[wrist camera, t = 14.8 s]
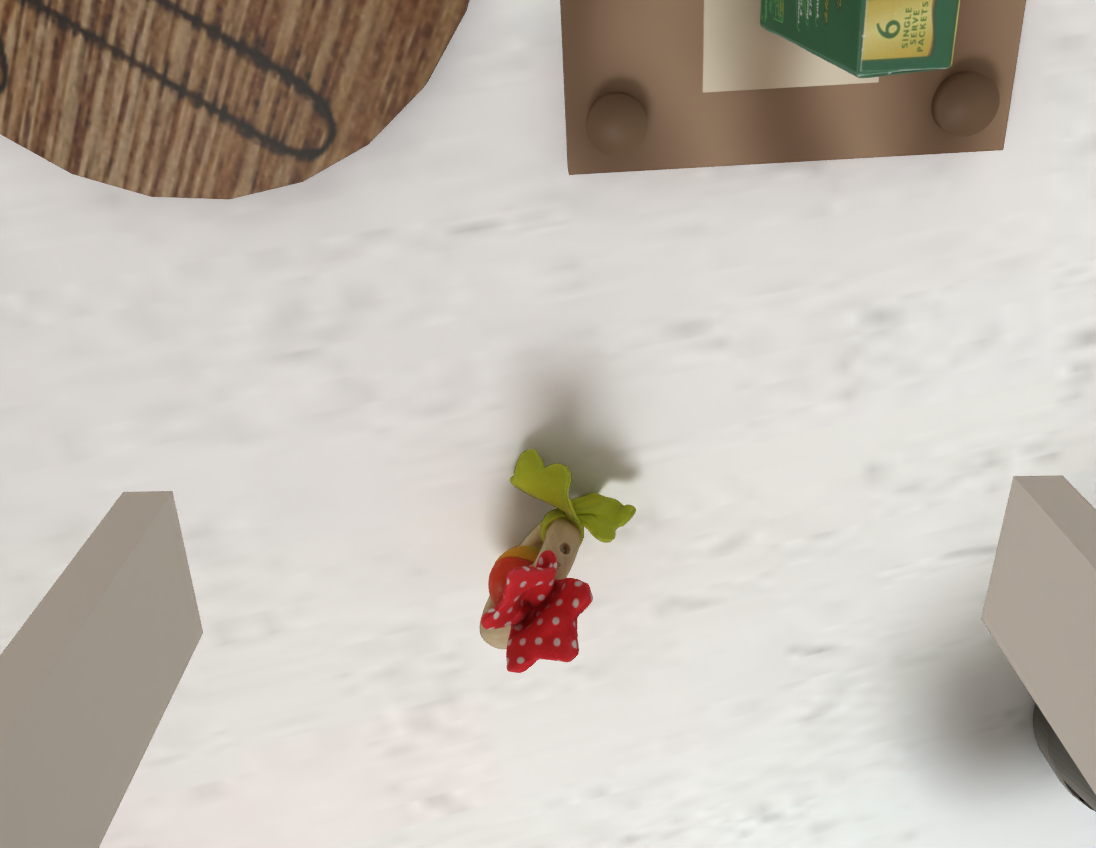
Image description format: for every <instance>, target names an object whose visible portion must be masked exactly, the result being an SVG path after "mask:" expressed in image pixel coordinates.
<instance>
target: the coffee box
mask: <svg viewBox="0 0 1096 848" xmlns="http://www.w3.org/2000/svg"><path fill="white" fill-rule="evenodd" d="M959 7H960V0H761V13H760V25H761V27H762V28H764V29H766V30H767V31H768V32H771V33H773V34H776V35H779V36H781V37H782V38H784V39H786V40H788V41H790V42H792V43H794V44H796V45H798V46H800V47H801V48H803V49H805V50H806V51H808V52H810V53H812V54H814V55H816V56H818V57H820V58H822V59H823V60H825V61H827V62H829V63H831V64H833V65H835V66H837V67H838V68H840V69H842V70H845V71H846V72H848V73H850V74H852V75H854V76H856V77H858V78H872V77H880V76H888V75H896V74H905V73H914V72H923V71H932V70H941V69H947V68H949V67H951V65H952V60H953V53H954V45H955V37H956V31H957V23H958V15H959Z"/></svg>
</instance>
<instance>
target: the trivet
mask: <svg viewBox="0 0 1096 848" xmlns="http://www.w3.org/2000/svg"><path fill="white" fill-rule="evenodd" d="M468 2H469V0H0V134H1V135H3V136H5V137H7V138H8V139H10V140H12V141H14V142H16V143H17V144H19V145H21V146H23V147H25V148H26V149H28V150H30V151H32V152H34V153H35V154H37V155H39V156H41V157H43V158H45V159H46V160H48V161H50V162H52V163H54V164H55V165H57V166H59V167H61V168H63V169H64V170H66V171H68V172H70V173H72V174H75V175H78V176H82V177H85V178H89V179H92V180H96V181H99V182H102V183H106V184H109V185H113V186H116V187H120V188H123V189H127V190H130V191H134V192H137V193H141V194H144V195H148V196H151V197H179V198H209V199H232V198H236V197H241V196H245V195H249V194H253V193H257V192H262V191H266V190H270V189H274V188H278V187H283V186H287V185H291V184H295V183H299V182H303V181H305V180H307V179H308V178H310V177H312V176H314V175H315V174H317V173H319V172H321V171H322V170H324V169H326V168H328V167H329V166H331V165H333V164H335V163H336V162H338V161H340V160H342V159H344V158H345V157H347V156H349V155H351V154H352V153H354V152H356V151H358V150H359V149H361V148H363V147H365V146H366V145H368V144H369V143H370V142H371V141H372V140H373V139H374V138H375V137H376V136H377V135H378V134H379V133H380V132H381V131H382V130H383V129H384V128H385V127H386V126H387V125H388V124H389V123H390V122H391V121H392V120H393V119H394V118H395V116H396V115H397V114H398V113H399V112H400V111H401V110H402V109H403V108H404V107H405V106H406V105H407V104H408V103H409V102H410V101H411V100H412V99H413V98H414V97H415V96H416V95H417V94H418V93H419V92H420V91H421V90H422V89H423V88H424V86H425V85H426V84H427V82H428V80H429V78H430V77H431V75H432V73H433V71H434V69H435V67H436V66H437V64H438V62H439V60H440V58H441V56H442V55H443V53H444V51H445V49H446V47H447V45H448V44H449V42H450V40H451V38H452V36H453V34H454V32H455V31H456V29H457V27H458V25H459V23H460V21H461V20H462V18H463V16H464V14H465V12H466V10H467V6H468Z"/></svg>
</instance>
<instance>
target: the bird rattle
mask: <svg viewBox="0 0 1096 848" xmlns="http://www.w3.org/2000/svg"><path fill="white" fill-rule="evenodd" d="M571 479H572V476H571V473H570V470H569V468H568V467H567V466H565V465H562V464H558V463H556V464H552V465H550V466H548V467H544V463H543V460H542V459H541V457H540V456H539V455H538V453H537V452H536V450H534V449H529V450H527V451H524V452H523V453H522V454H521V455H520V457H519V459H518V461H517V465H516V468H515V473H514V476H512V477H511V478H510V482H511V483H512V484H513V485H514V486H515V487H517V488H518V489H520V490H522V491H524V492H525V493H527V494H529V495H530V496H532V497H535V498H538V499H540V500H542V501H544V502H546V503H548V504H550V505H552V506H554V507H556V508H558V509H555V510H552V511H550V512H548V513H547V514H546V516H545V517H544V519H543V520H542V522H540V523H539V524H538V525H537V526H536V527H535V528H534V529H533V530H532V531H531V532H530V534H529V535H528V536H527V537H526V538H525V539H524V541H523V542H522V543H521V544H520V545H519V546H518V547H515V548H512V549H509V550H508V551H506V552H505V553H503V554H502V555H501V556H500V557H499V558H498V559H497V561H496V562H495V565H494V566H493V568H492V570H491V572H490V576H489V593H490V596H489V598H488V601H487V603H486V605H485V608H484V610H483V614H482V617H481V621H480V634H481V636H482V638H483V639H484V640H485V642H486V643H488V644H489V645H491V646H493V647H495V648H498V649H507V654H506V657H507V670H508V671H509V672H517V673H521V672H524V671H526V670H527V669H528V668H529V667H531V666H532V665H533V664H534V663H535V662H536V661H537V660H539V659H546V660H554V661H563V662H570V661H572V660H573V659H574V658H575V657H576V656H577V655H578V652H579V648H578V640H577V636H578V634H577V617H578V616H579V614H580V613H582V612H583V611H584V610H585V609H586V608H587V607H588V606H589V604H590V603H591V602H592V600H593V596H592V593H591V590H590V587H589V585H588V584H587V583H585V582H583V581H580V580H578V579H574V578H566V577H567V575H568V573H569V571H570V569H571V567H572V565H573V563H574V560H575V558H576V555H577V552H578V549H579V547H580V545H581V543H582V541H583V538H584V526H585V527H586V528H587V529H588V530H589V531H590V533H591V534H592V535H593V536H594V537H595V538H596V539H598V540H600V541H601V542H611V541H612V540H613V539H614V538H615V535H616V534H615V530H616V529H617V528H618V527H621V526H624V525H625V524H626V523H627V522H628V521H629V520H630V519H631V518H632V516H633V515H634V514H635V512H636V508H635V507H634V506H632V505H625V506H624V505H622V504H621V503H620V502H619V501H618V500H616V499H613V498H608V497H605V496H602V495H600V494H598V493H590V494H588V495H585V496H583V497H577V498H574V499H572V500H570V498H569V495H568V494H569V488H570V484H571Z"/></svg>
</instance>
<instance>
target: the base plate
mask: <svg viewBox="0 0 1096 848" xmlns="http://www.w3.org/2000/svg"><path fill="white" fill-rule="evenodd" d="M1025 4H1026V0H960V7H959V15H958V23H957V31H956V37H955V45H954V53H953V60H952V65H951V67H949V68H947V69H941V70H932V71H923V72H914V73H905V74H896V75H888V76H880V77H872V78H858V77H856V76H854V75H852V74H850V73H848V72H846V71H845V70H842V69H840V68H838V67H837V66H835V65H833V64H831V63H829V62H827V61H825V60H823V59H822V58H820V57H818V56H816V55H814V54H812V53H810V52H808V51H806V50H805V49H803V48H801V47H800V46H798V45H796V44H794V43H792V42H790V41H788V40H786V39H784V38H782V37H781V36H779V35H776V34H773V33H771V32H768V31H767V30H766V29H764V28H762V27H761V25H760V13H761V0H560V5H561V27H562V49H563V72H564V94H565V116H566V139H567V161H568V172H569V175H574V174H591V173H609V172H626V171H644V170H661V169H679V168H696V167H714V166H731V165H749V164H766V163H784V162H801V161H819V160H836V159H854V158H871V157H889V156H906V155H924V154H941V153H959V152H976V151H994V150H1003V148H1004V142H1005V135H1006V128H1007V122H1008V115H1009V109H1010V102H1011V96H1012V89H1013V83H1014V76H1015V69H1016V63H1017V56H1018V50H1019V43H1020V37H1021V30H1022V24H1023V17H1024V10H1025Z"/></svg>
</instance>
